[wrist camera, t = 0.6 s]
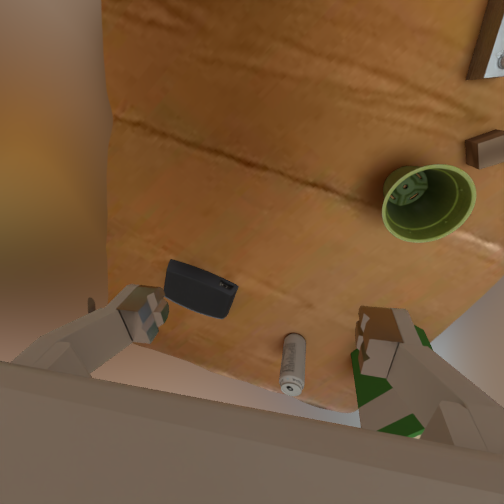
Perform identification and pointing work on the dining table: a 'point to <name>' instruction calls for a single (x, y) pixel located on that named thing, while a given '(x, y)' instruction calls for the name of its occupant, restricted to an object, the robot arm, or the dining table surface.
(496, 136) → the walnut block
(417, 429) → the hardback book
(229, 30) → the dining table surface
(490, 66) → the block
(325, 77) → the dining table surface
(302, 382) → the energy drink can
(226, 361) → the dining table surface
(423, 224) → the plant pot
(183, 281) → the external hard drive
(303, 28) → the dining table surface
